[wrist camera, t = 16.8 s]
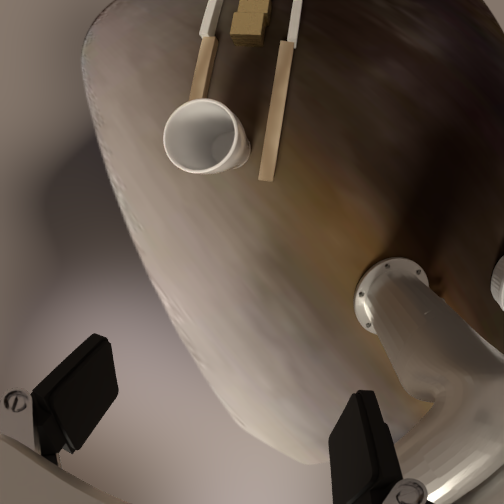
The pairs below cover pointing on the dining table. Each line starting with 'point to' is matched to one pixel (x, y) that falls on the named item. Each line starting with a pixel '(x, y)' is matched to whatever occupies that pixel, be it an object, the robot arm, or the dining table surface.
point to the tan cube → (256, 8)
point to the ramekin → (498, 283)
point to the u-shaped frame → (214, 12)
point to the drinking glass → (205, 138)
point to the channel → (277, 98)
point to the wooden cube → (248, 29)
